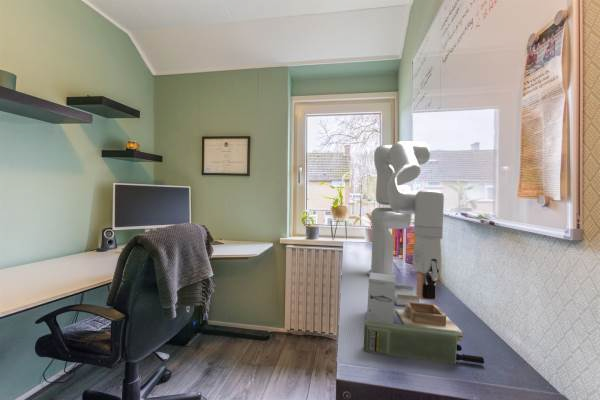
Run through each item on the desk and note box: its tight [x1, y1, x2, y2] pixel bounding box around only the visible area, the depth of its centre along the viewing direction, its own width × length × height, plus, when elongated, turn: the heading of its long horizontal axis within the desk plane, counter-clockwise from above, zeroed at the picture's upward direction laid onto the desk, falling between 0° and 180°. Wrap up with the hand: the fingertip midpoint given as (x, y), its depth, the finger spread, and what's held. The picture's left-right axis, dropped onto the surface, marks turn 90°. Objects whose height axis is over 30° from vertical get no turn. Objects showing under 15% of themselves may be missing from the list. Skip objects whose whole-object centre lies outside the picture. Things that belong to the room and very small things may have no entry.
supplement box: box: [366, 272, 397, 324], centre depth 76 cm, size 7×7×13 cm
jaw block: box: [415, 270, 437, 302], centre depth 76 cm, size 4×4×7 cm
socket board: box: [395, 302, 464, 337], centre depth 75 cm, size 12×14×4 cm
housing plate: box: [394, 283, 420, 307], centre depth 90 cm, size 8×7×4 cm
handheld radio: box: [363, 320, 485, 365], centre depth 58 cm, size 7×3×25 cm
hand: (425, 294), depth 76 cm, fingers closed on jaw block, 4 cm apart
